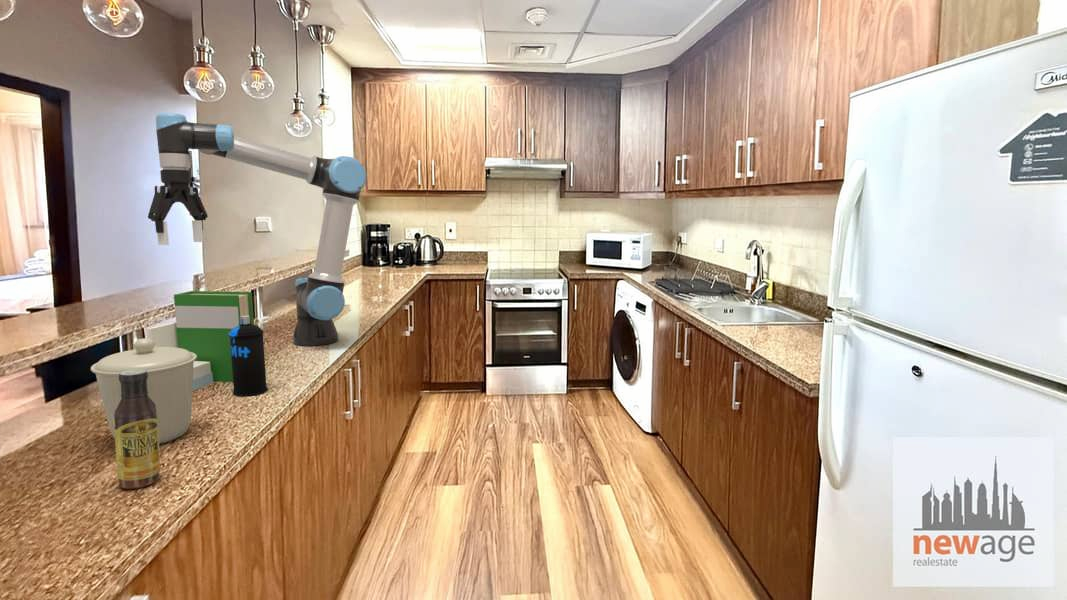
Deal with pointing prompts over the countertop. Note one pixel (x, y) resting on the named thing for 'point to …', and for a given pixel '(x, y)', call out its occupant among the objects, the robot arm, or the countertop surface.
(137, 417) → the sauce bottle
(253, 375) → the aerosol can
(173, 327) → the shelf back board
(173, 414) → the canister
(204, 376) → the book stack block
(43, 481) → the countertop surface
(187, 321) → the hardback book
